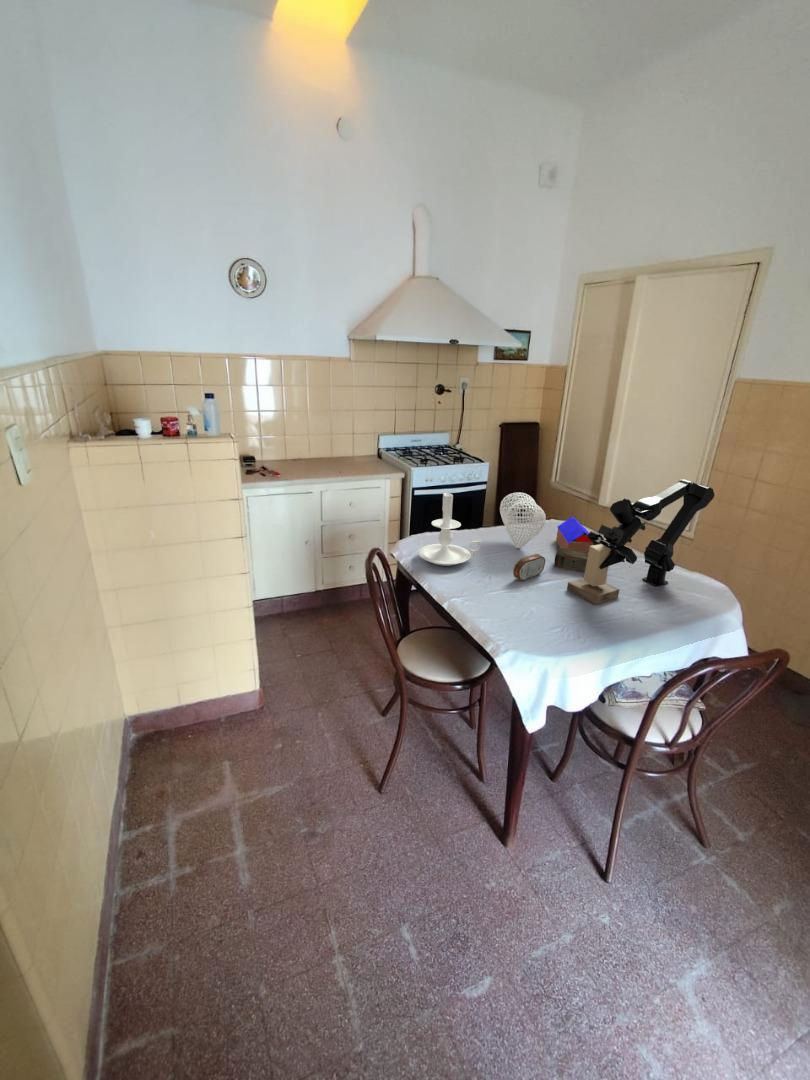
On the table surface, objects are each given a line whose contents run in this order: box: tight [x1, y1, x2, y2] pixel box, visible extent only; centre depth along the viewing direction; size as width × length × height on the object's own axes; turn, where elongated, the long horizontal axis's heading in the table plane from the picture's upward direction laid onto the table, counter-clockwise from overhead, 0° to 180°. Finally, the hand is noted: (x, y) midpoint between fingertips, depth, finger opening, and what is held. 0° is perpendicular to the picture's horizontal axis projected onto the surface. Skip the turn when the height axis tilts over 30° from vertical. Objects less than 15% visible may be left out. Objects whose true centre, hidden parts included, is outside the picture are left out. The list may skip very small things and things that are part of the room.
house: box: [556, 516, 593, 552], centre depth 207 cm, size 12×20×12 cm, turn 176°
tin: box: [512, 553, 546, 581], centre depth 181 cm, size 15×3×8 cm, turn 126°
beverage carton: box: [553, 546, 589, 574], centre depth 190 cm, size 8×19×7 cm, turn 68°
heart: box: [499, 492, 547, 549], centre depth 205 cm, size 28×16×22 cm, turn 0°
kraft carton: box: [583, 544, 611, 586], centre depth 167 cm, size 5×5×13 cm
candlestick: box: [417, 492, 483, 567], centre depth 190 cm, size 21×25×28 cm
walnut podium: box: [566, 577, 620, 606], centre depth 171 cm, size 12×12×3 cm
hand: (594, 565), depth 167 cm, fingers closed on kraft carton, 5 cm apart
